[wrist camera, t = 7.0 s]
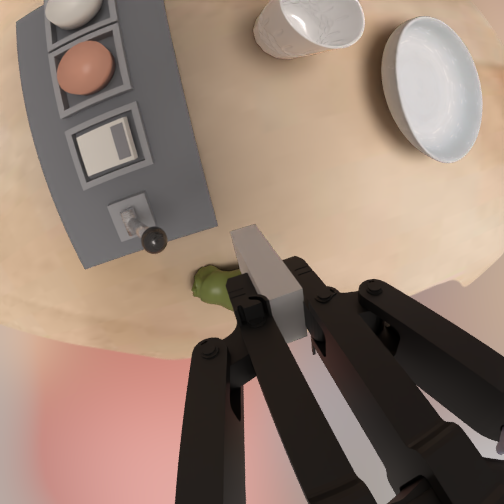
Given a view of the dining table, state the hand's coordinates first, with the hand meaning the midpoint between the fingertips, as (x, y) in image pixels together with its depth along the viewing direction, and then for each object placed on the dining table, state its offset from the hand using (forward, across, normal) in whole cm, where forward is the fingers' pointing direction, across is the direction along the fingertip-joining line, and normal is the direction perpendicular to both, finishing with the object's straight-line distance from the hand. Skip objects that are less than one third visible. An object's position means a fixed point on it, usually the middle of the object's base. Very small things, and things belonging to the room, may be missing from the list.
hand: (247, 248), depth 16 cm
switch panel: (+16, -9, +12) cm, 22 cm away
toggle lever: (+11, -9, 0) cm, 14 cm away
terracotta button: (+12, -9, +16) cm, 22 cm away
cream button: (+11, -9, +23) cm, 27 cm away
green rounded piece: (+16, -1, -13) cm, 21 cm away
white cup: (+16, +11, +16) cm, 25 cm away
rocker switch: (+12, -9, +8) cm, 17 cm away
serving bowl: (+16, +31, +9) cm, 36 cm away
